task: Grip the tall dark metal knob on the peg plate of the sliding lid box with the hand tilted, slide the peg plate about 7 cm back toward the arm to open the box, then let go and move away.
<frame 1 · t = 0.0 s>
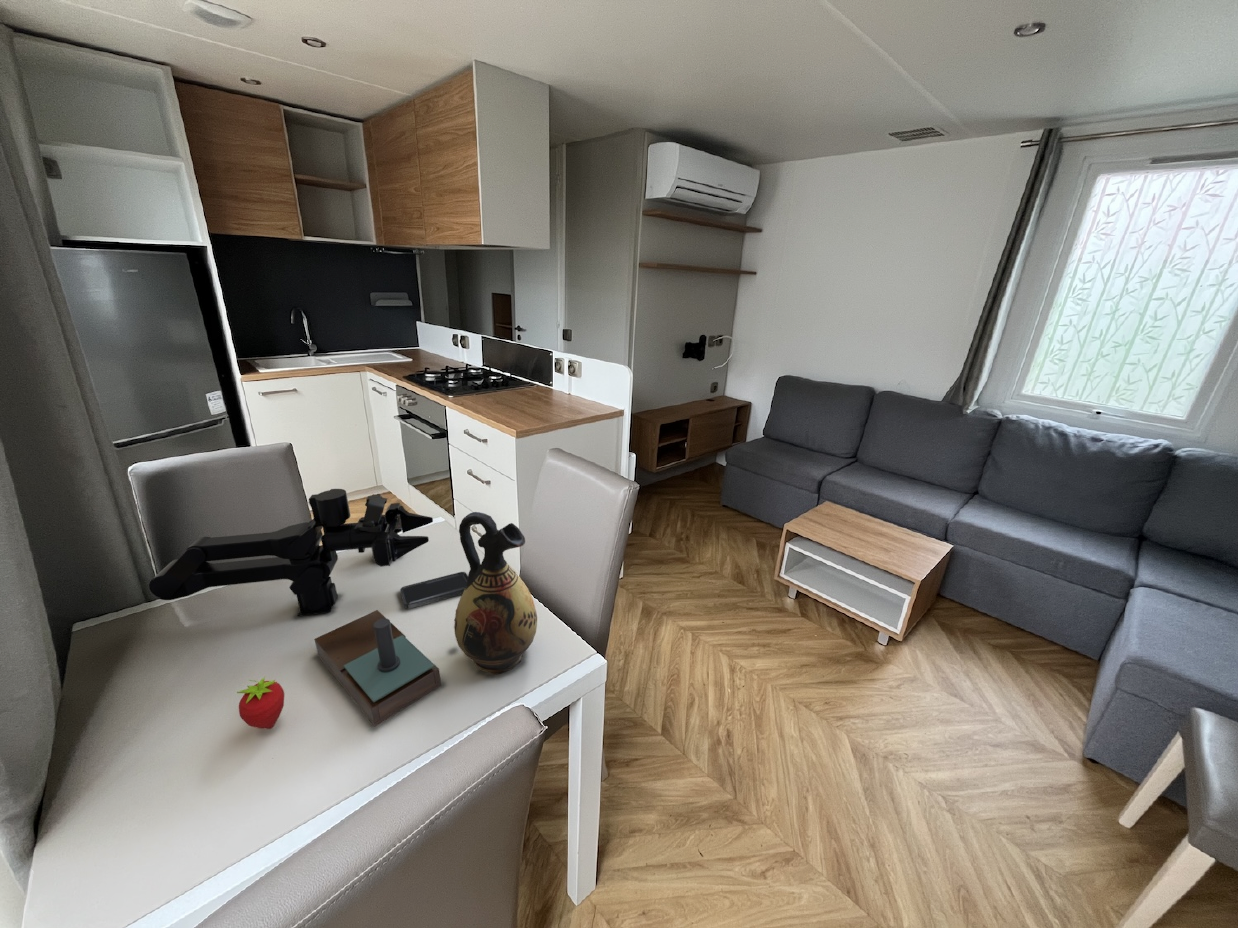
hand: (430, 528, 110), 17 cm above the table, tool horizontal, fingers open, 9 cm apart
supplement container: (387, 557, 130), on the table
sliding lid box: (377, 670, 92), on the table
phone: (436, 591, 116), on the table
peg plate: (385, 645, 85), point 9 cm above the table, slide at 0.0 cm
strawberry: (270, 728, 80), on the table
ceramic jug: (495, 654, 97), on the table
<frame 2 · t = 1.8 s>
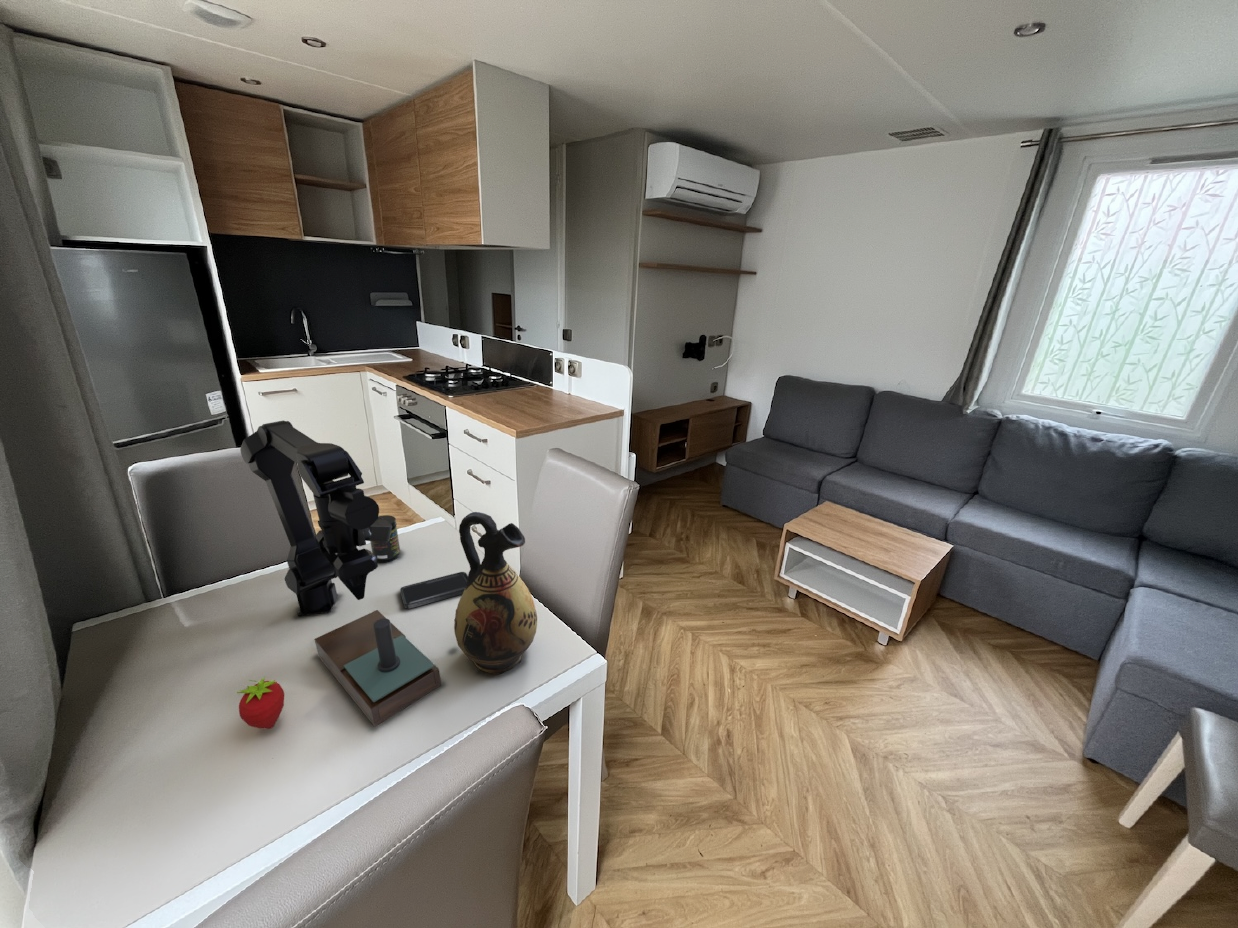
hand: (353, 588, 95), 13 cm above the table, tool pointing down, fingers open, 9 cm apart
nothing on the table moved.
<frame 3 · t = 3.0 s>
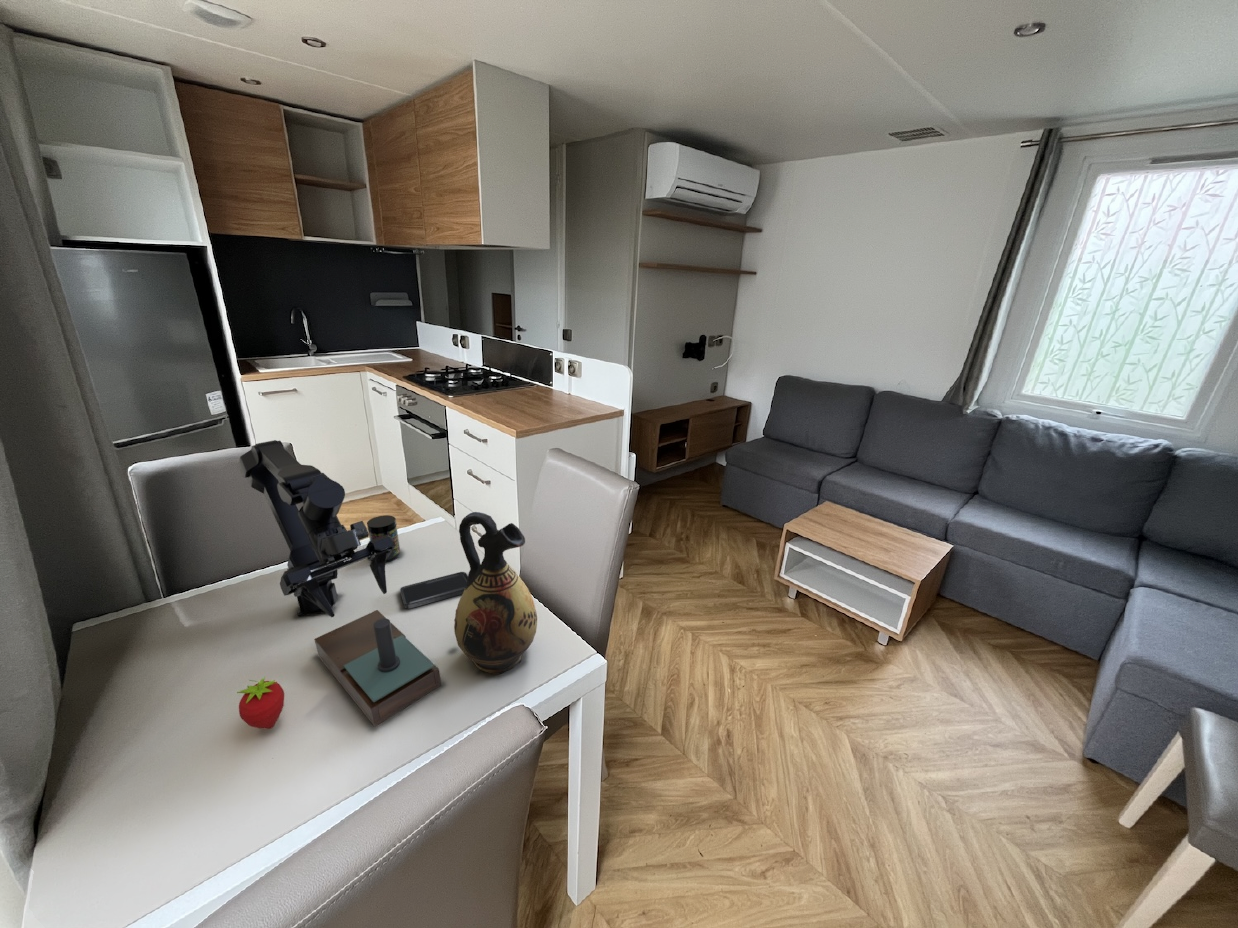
hand: (360, 604, 89), 13 cm above the table, tool tilted 45°, fingers open, 9 cm apart
nothing on the table moved.
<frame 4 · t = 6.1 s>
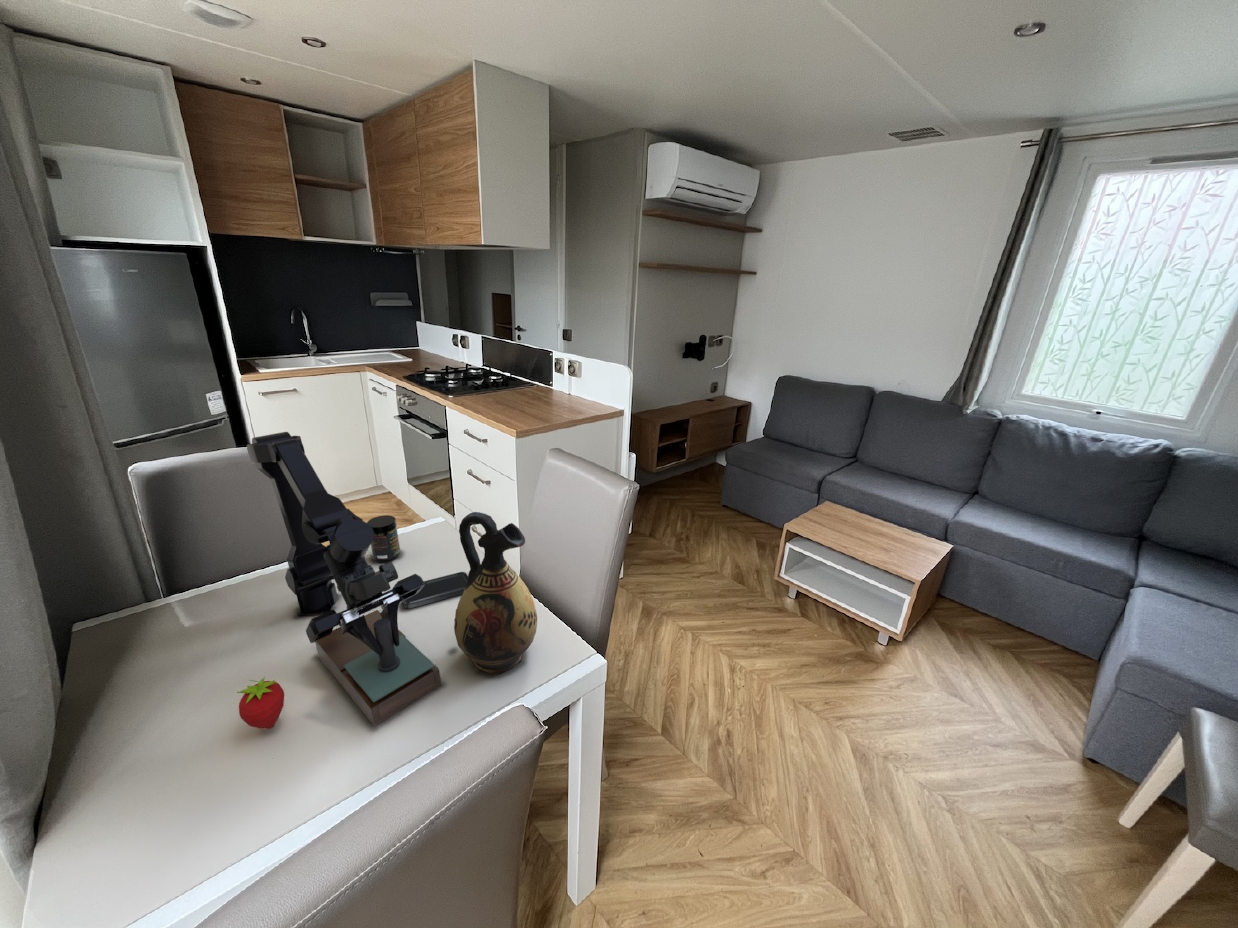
hand: (389, 650, 85), 9 cm above the table, tool tilted 45°, fingers closed on peg plate, 3 cm apart
peg plate: (385, 645, 85), point 9 cm above the table, slide at 0.0 cm, touching gripper
everything else where it was.
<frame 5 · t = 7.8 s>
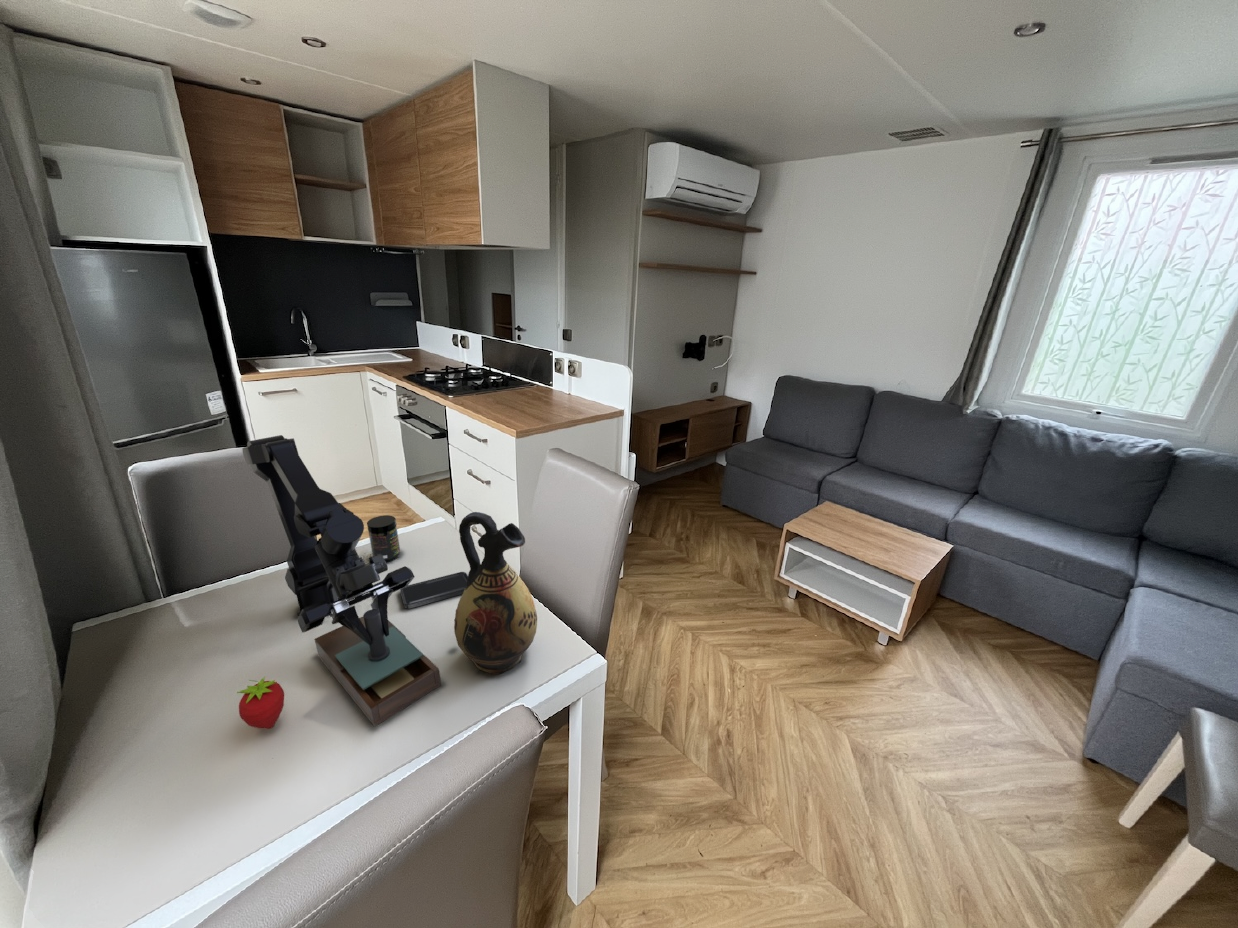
hand: (379, 639, 87), 9 cm above the table, tool tilted 45°, fingers closed on peg plate, 3 cm apart
peg plate: (375, 635, 88), point 9 cm above the table, slide at 3.8 cm, touching gripper
everything else where it was.
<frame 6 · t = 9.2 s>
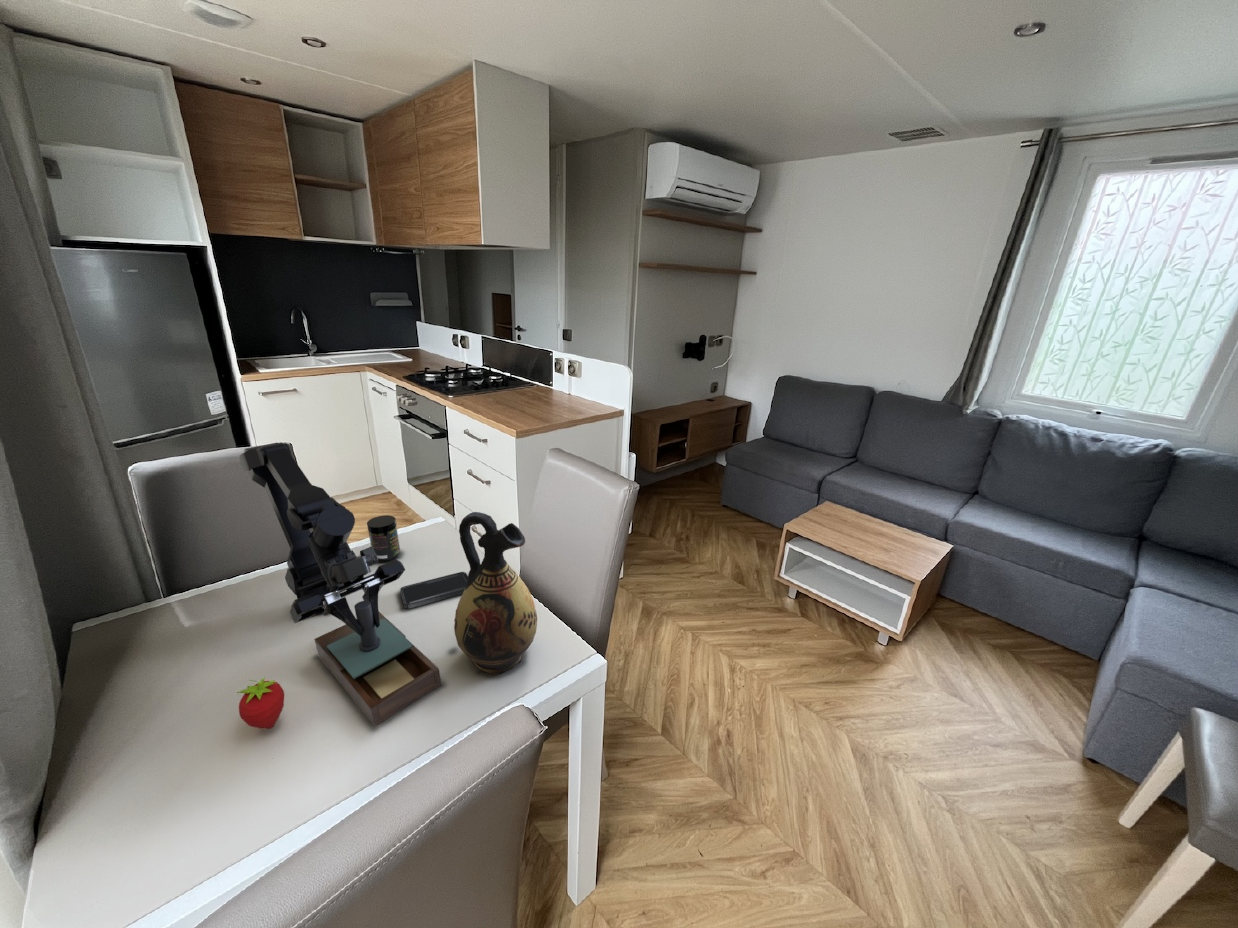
hand: (370, 630, 89), 9 cm above the table, tool tilted 45°, fingers closed on peg plate, 3 cm apart
peg plate: (366, 626, 90), point 9 cm above the table, slide at 7.4 cm, touching gripper
everything else where it was.
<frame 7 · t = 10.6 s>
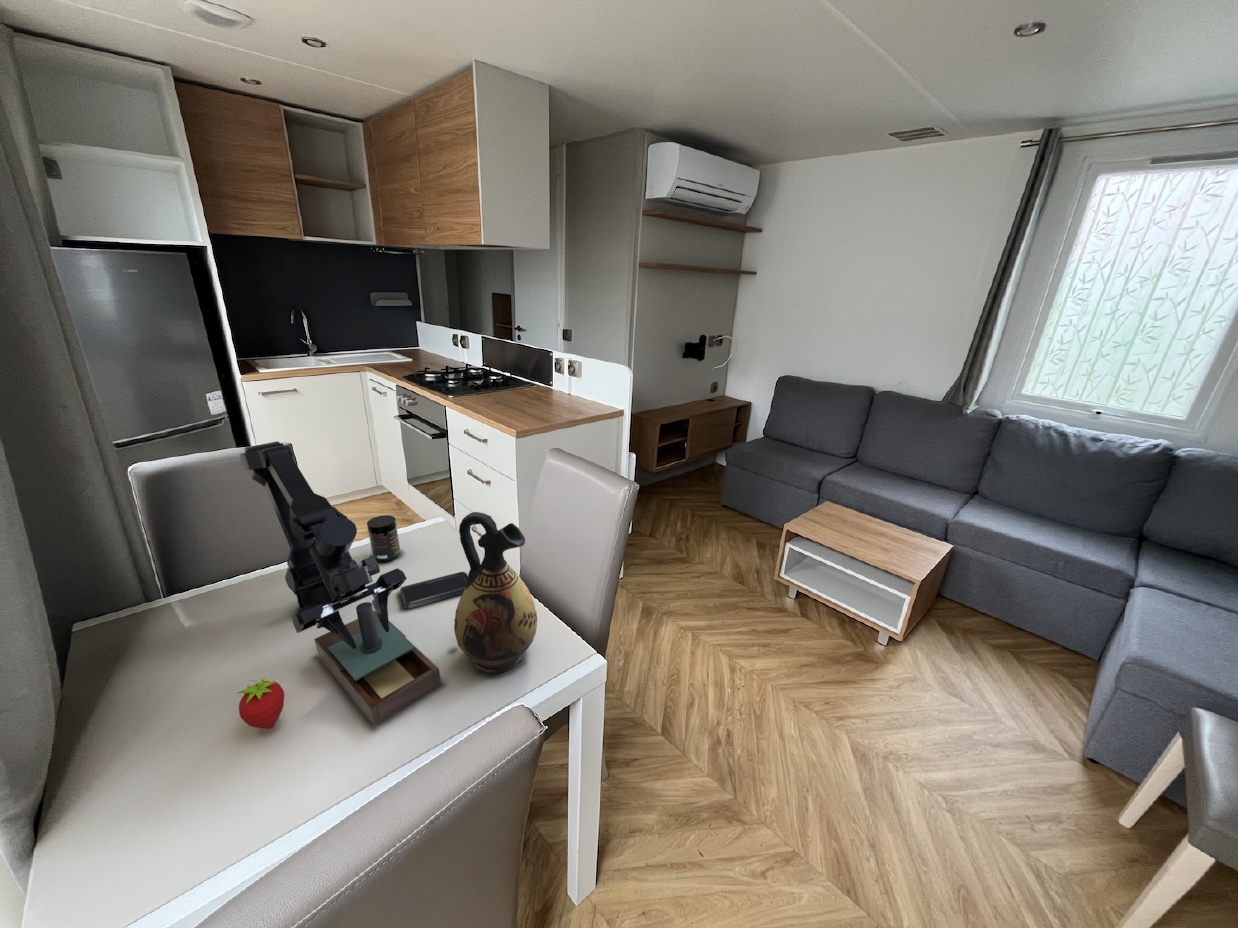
hand: (371, 639, 90), 7 cm above the table, tool tilted 45°, fingers open, 6 cm apart
peg plate: (368, 627, 89), point 9 cm above the table, slide at 6.8 cm
everything else where it was.
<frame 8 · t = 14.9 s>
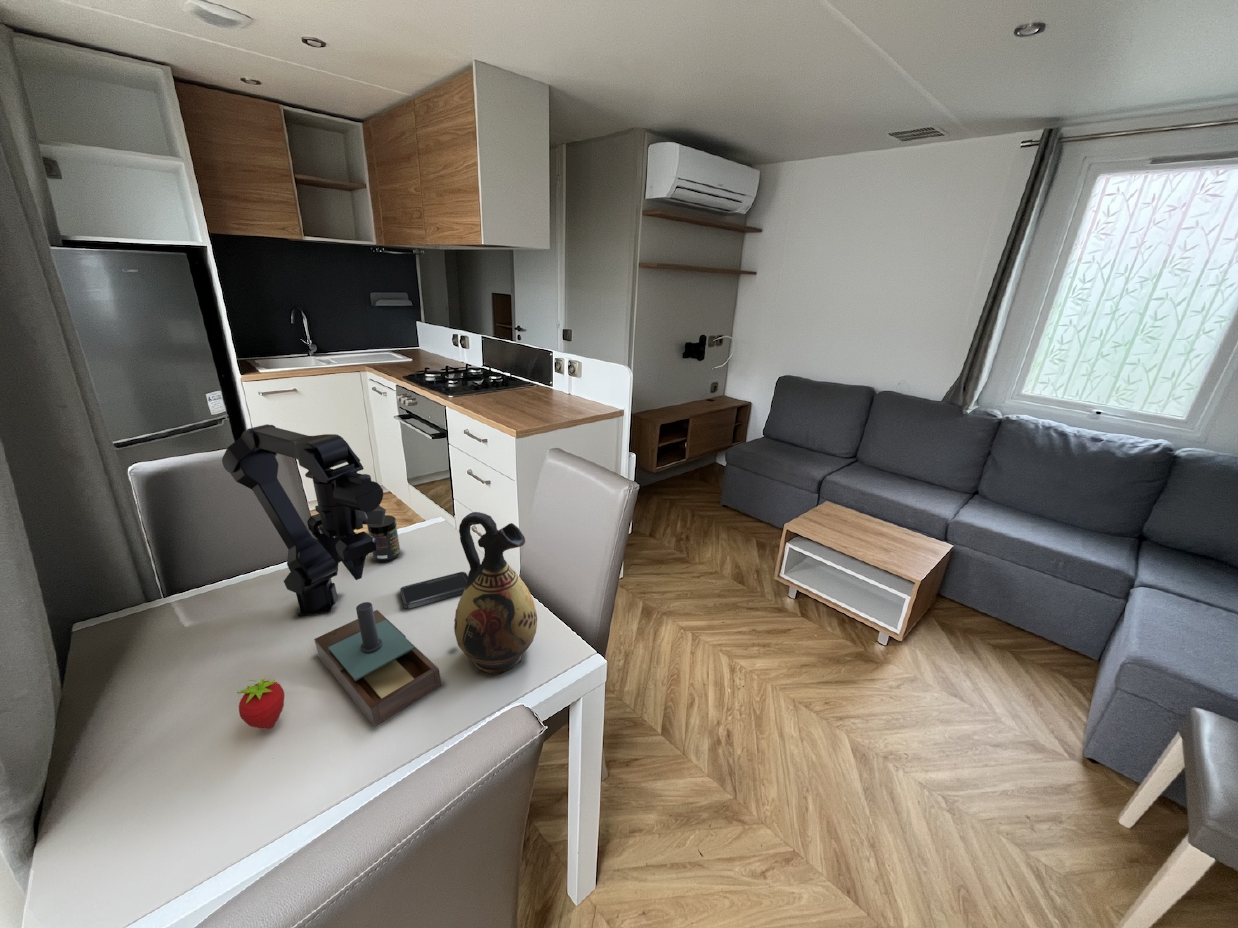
hand: (348, 570, 100), 13 cm above the table, tool pointing down, fingers open, 9 cm apart
nothing on the table moved.
at the end: peg plate slide at 6.8 cm; the gripper is holding nothing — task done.
